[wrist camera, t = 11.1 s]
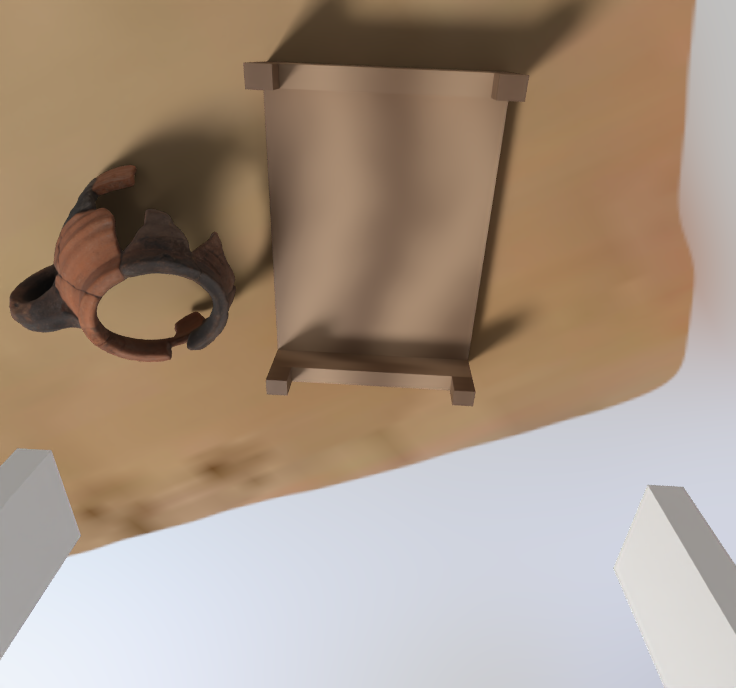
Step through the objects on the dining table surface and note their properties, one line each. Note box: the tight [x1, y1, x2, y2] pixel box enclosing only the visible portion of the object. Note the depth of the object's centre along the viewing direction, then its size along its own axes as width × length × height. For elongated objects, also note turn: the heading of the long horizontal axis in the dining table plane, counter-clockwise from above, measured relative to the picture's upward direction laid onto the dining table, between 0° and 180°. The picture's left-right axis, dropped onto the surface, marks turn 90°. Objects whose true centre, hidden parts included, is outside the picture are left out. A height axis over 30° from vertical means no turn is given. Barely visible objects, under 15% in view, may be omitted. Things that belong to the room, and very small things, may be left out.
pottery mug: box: [9, 165, 236, 362], centre depth 29 cm, size 12×9×8 cm
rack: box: [243, 61, 529, 406], centre depth 28 cm, size 12×17×4 cm
